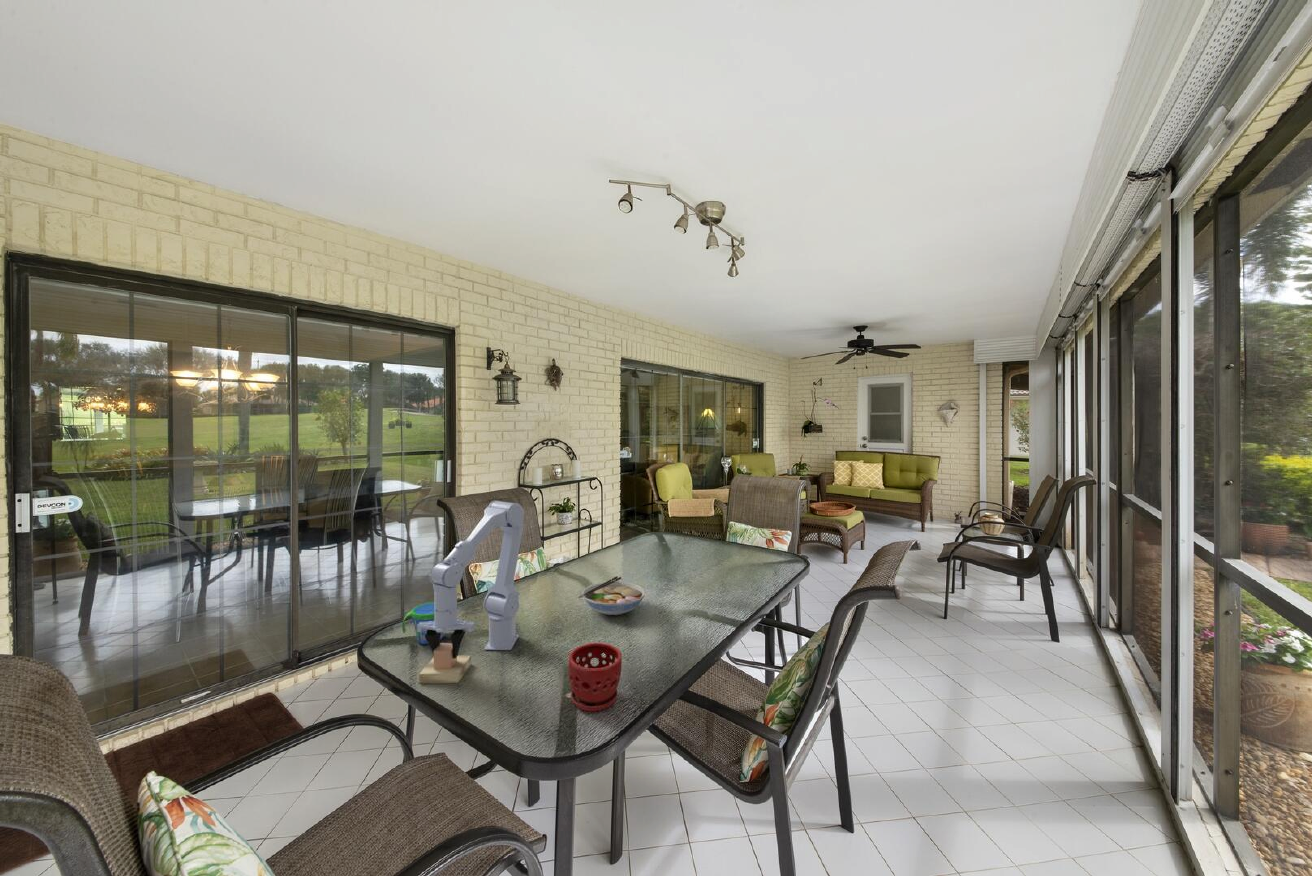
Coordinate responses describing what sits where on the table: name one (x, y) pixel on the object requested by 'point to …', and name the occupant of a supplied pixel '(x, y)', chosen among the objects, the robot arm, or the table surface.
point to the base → (445, 671)
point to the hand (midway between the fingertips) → (446, 656)
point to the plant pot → (594, 676)
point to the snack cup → (421, 619)
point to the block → (444, 656)
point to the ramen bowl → (613, 596)
